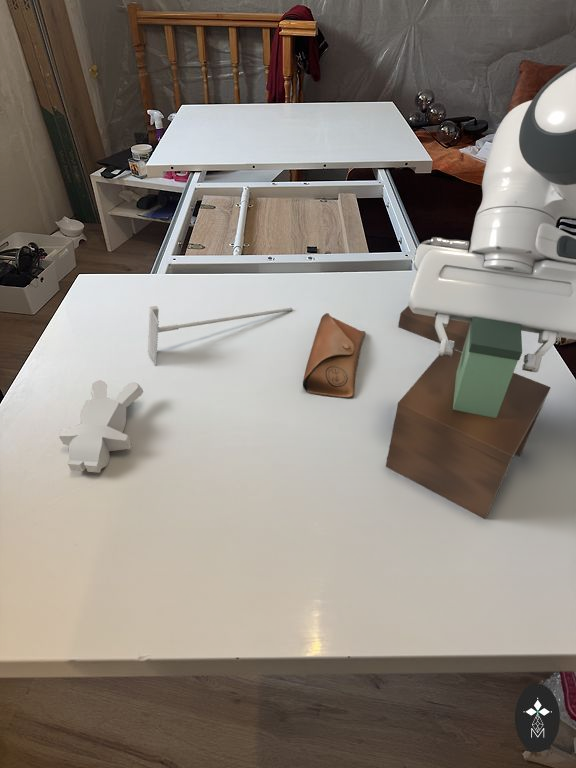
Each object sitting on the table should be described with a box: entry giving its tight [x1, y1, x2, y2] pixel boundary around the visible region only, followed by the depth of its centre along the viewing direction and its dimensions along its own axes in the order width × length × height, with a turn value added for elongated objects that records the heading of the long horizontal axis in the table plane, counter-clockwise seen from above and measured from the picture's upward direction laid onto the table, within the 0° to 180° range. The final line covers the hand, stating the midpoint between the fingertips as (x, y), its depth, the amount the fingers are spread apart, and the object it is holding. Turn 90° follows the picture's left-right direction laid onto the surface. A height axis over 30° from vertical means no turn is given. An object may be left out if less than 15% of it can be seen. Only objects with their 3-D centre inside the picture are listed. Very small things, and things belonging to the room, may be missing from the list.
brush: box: [147, 305, 293, 366], centre depth 93 cm, size 4×28×9 cm, turn 119°
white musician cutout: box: [58, 380, 144, 473], centre depth 75 cm, size 10×5×15 cm
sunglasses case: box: [302, 312, 366, 399], centre depth 88 cm, size 18×7×7 cm, turn 169°
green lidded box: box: [453, 317, 523, 418], centre depth 62 cm, size 7×5×10 cm
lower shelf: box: [397, 304, 470, 352], centre depth 96 cm, size 14×14×3 cm
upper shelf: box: [385, 349, 552, 520], centre depth 69 cm, size 14×14×12 cm
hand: (486, 363), depth 61 cm, fingers open, 8 cm apart
